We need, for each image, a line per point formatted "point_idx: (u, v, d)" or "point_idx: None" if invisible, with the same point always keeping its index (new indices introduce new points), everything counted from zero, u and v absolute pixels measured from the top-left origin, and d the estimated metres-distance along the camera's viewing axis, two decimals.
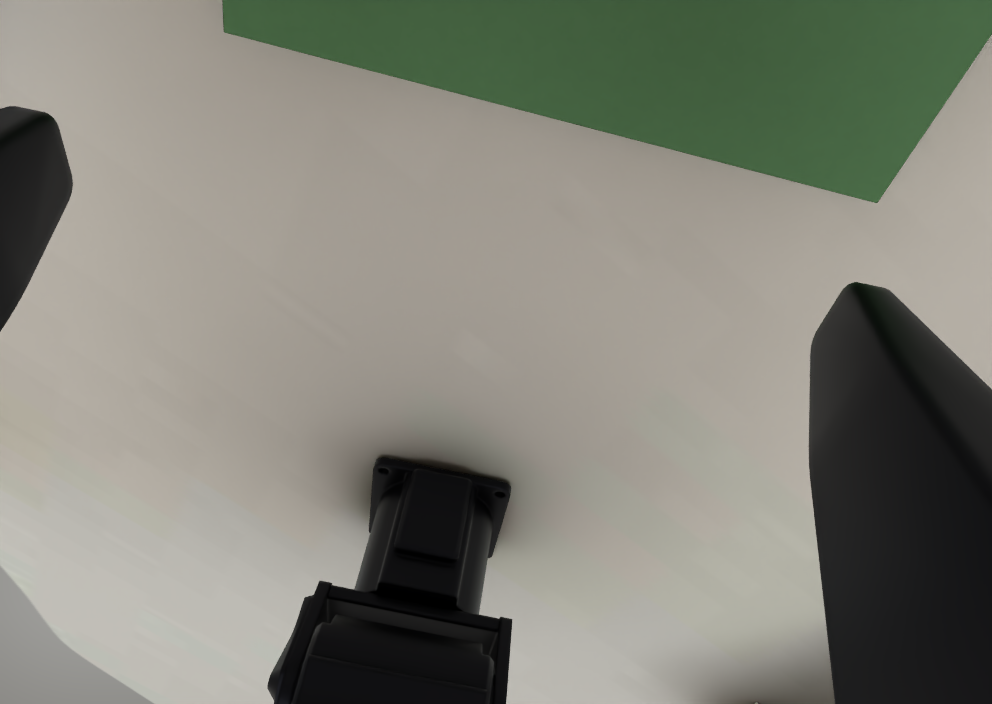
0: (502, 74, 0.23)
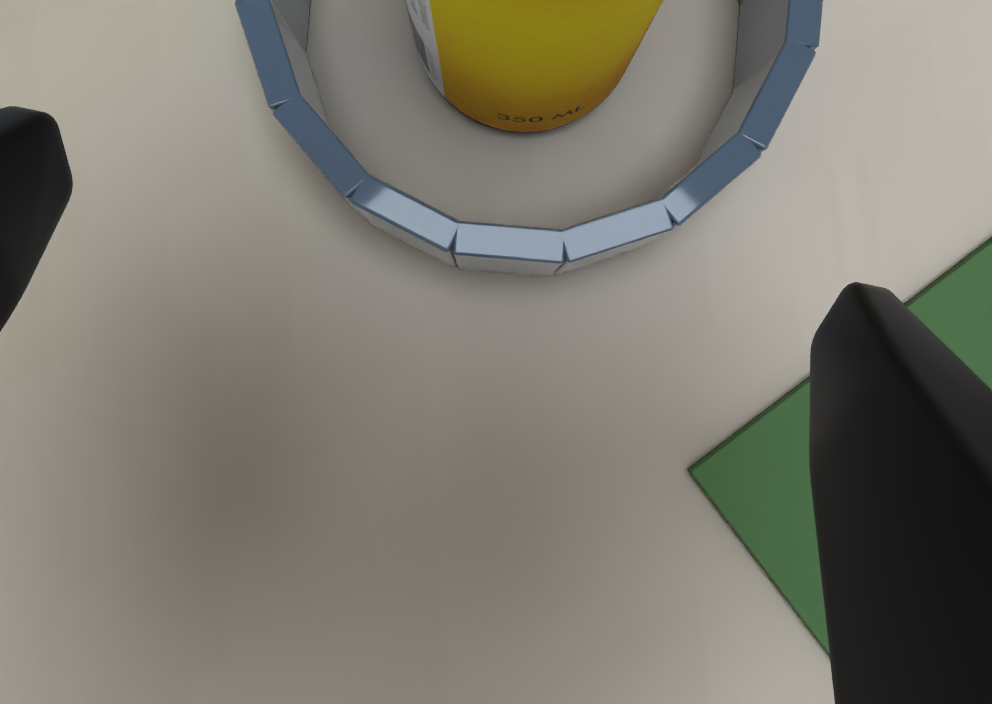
0: None
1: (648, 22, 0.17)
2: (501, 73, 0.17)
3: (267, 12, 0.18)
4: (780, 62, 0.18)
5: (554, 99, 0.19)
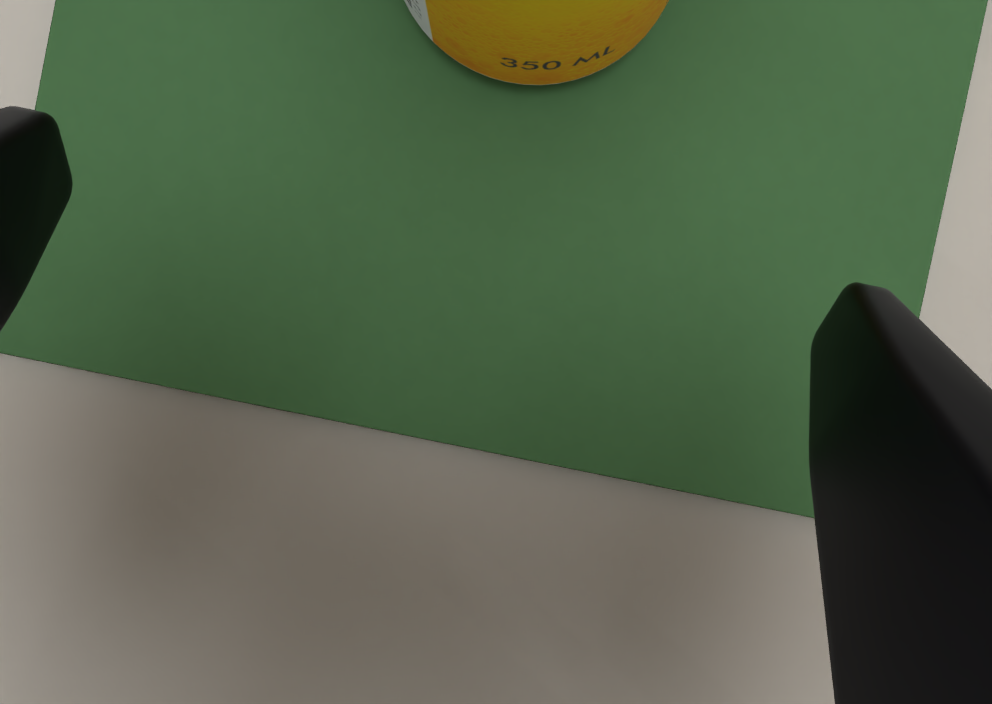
0: (359, 382, 0.18)
1: None
2: None
3: None
4: None
5: (579, 32, 0.14)
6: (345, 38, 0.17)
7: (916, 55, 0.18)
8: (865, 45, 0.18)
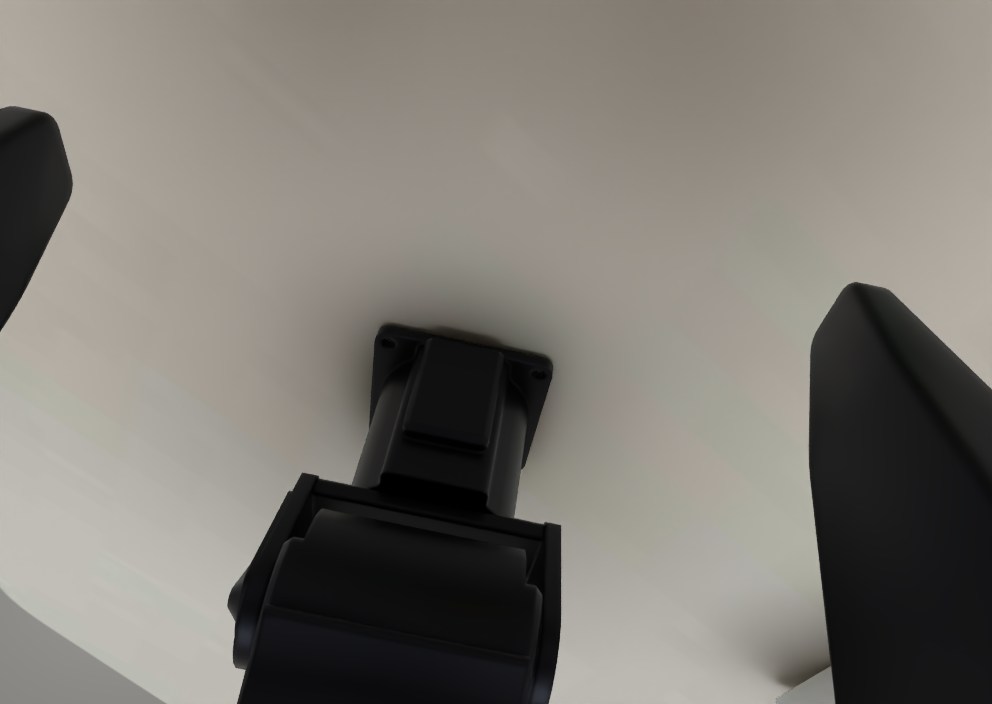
0: None
1: None
2: None
3: None
4: None
5: None
6: None
7: None
8: None
